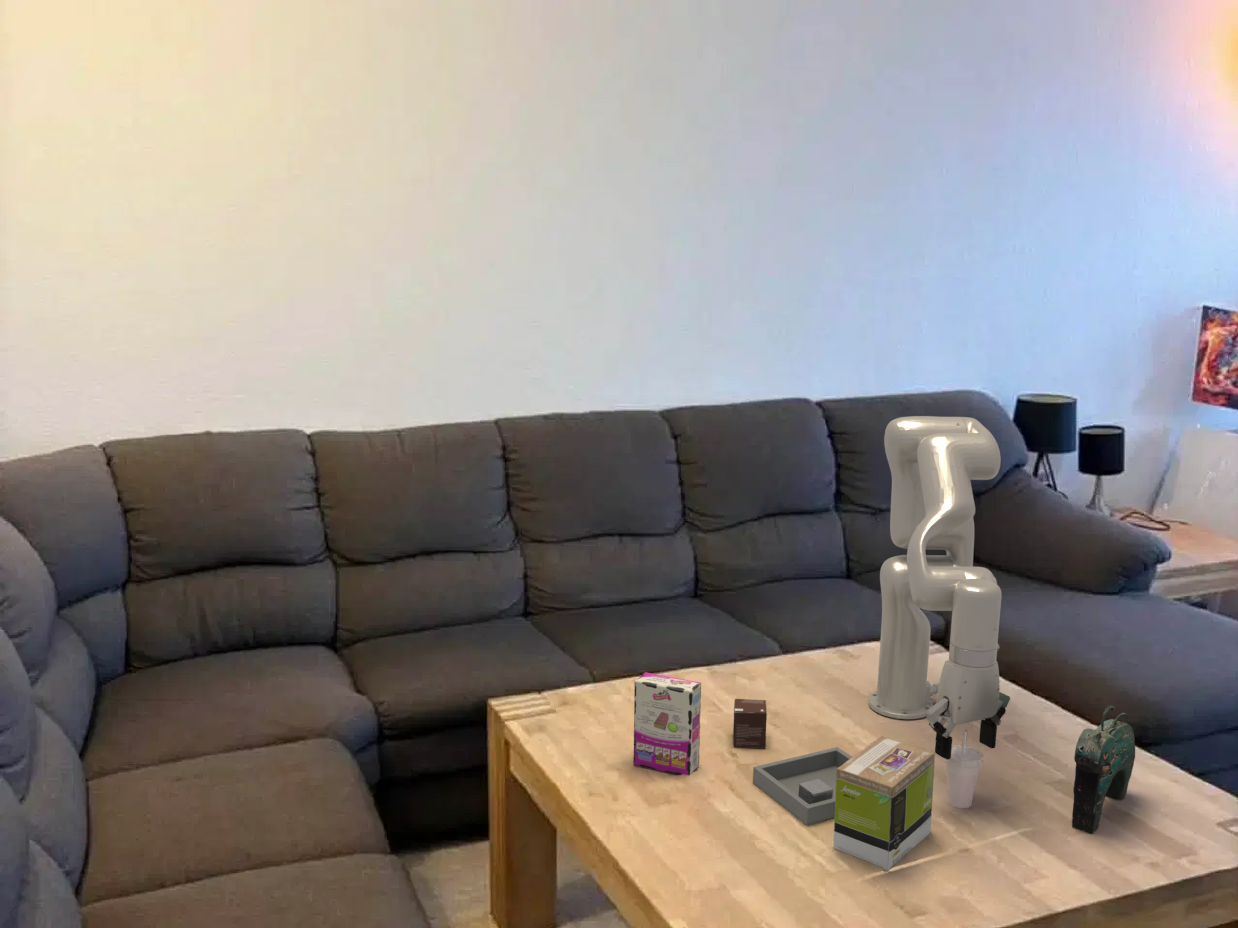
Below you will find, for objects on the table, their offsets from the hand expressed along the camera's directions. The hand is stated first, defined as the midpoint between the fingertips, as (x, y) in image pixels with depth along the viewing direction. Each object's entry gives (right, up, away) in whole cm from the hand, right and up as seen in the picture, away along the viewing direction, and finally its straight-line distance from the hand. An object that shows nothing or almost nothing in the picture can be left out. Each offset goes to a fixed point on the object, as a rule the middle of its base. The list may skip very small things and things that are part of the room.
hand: (965, 750), depth 209 cm
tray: (-23, -9, +6) cm, 25 cm away
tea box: (-16, -13, -9) cm, 22 cm away
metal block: (-25, -10, 0) cm, 27 cm away
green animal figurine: (+23, -11, +2) cm, 25 cm away
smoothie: (0, -10, +3) cm, 11 cm away
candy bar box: (-49, -6, +15) cm, 52 cm away
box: (-33, -4, +26) cm, 42 cm away
